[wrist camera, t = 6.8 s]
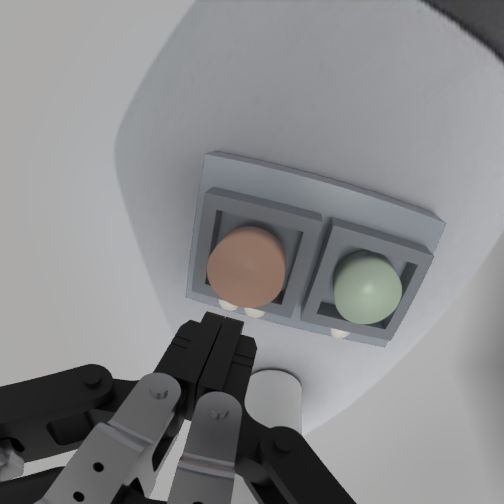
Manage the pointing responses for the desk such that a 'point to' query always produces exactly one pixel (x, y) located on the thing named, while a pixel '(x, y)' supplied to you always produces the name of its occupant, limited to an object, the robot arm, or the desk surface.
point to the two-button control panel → (309, 240)
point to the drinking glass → (270, 413)
